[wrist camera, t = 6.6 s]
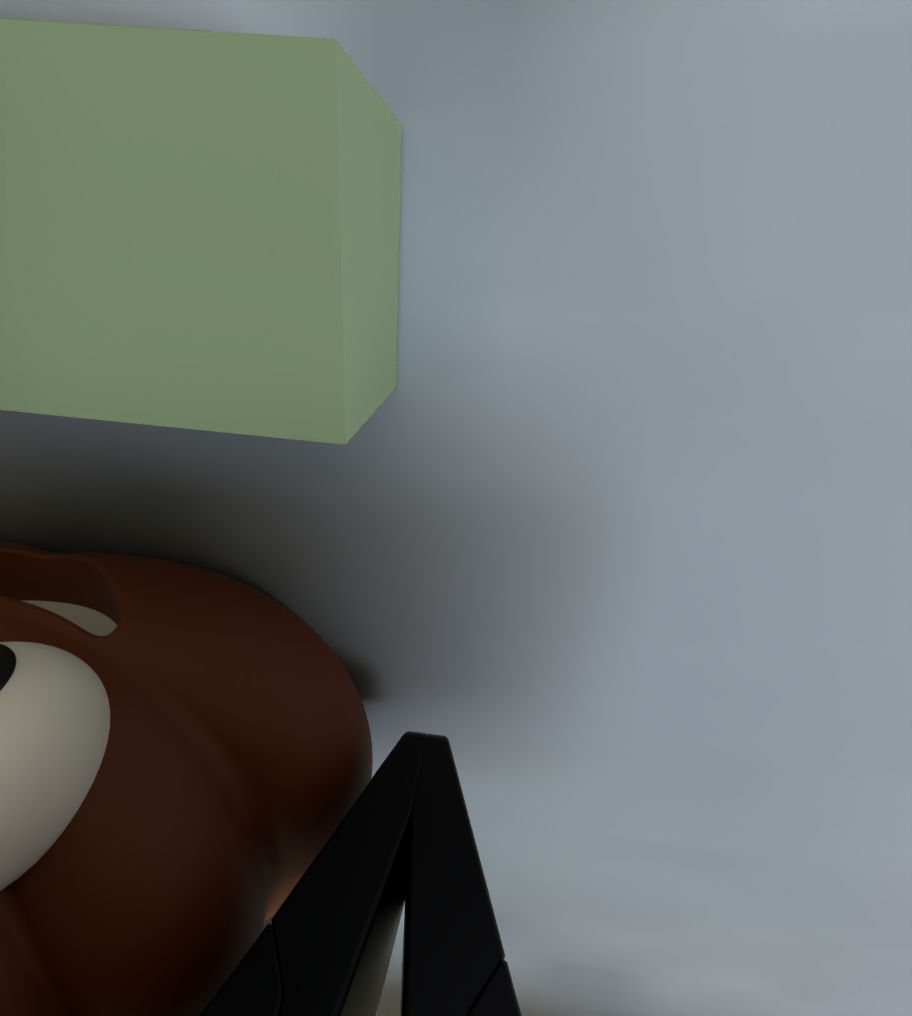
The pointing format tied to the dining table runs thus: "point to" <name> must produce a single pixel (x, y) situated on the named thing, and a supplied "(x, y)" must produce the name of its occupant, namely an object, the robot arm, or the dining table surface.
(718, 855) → the dining table surface
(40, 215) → the deck
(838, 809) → the dining table surface
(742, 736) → the dining table surface
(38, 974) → the poop emoji
